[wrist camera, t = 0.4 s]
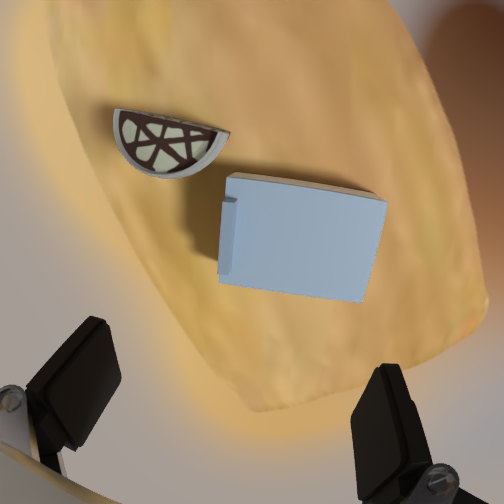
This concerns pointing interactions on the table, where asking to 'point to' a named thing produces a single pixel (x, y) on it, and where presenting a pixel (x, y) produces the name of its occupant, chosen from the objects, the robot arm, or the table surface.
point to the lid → (298, 239)
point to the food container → (166, 143)
